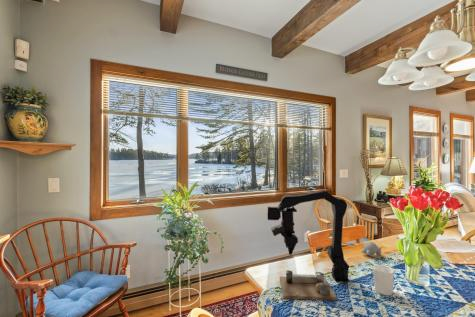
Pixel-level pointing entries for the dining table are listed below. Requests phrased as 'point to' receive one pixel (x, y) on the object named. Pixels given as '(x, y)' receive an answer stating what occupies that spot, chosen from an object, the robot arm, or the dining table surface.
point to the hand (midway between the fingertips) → (288, 250)
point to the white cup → (383, 279)
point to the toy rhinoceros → (371, 249)
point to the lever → (304, 278)
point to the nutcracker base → (307, 290)
